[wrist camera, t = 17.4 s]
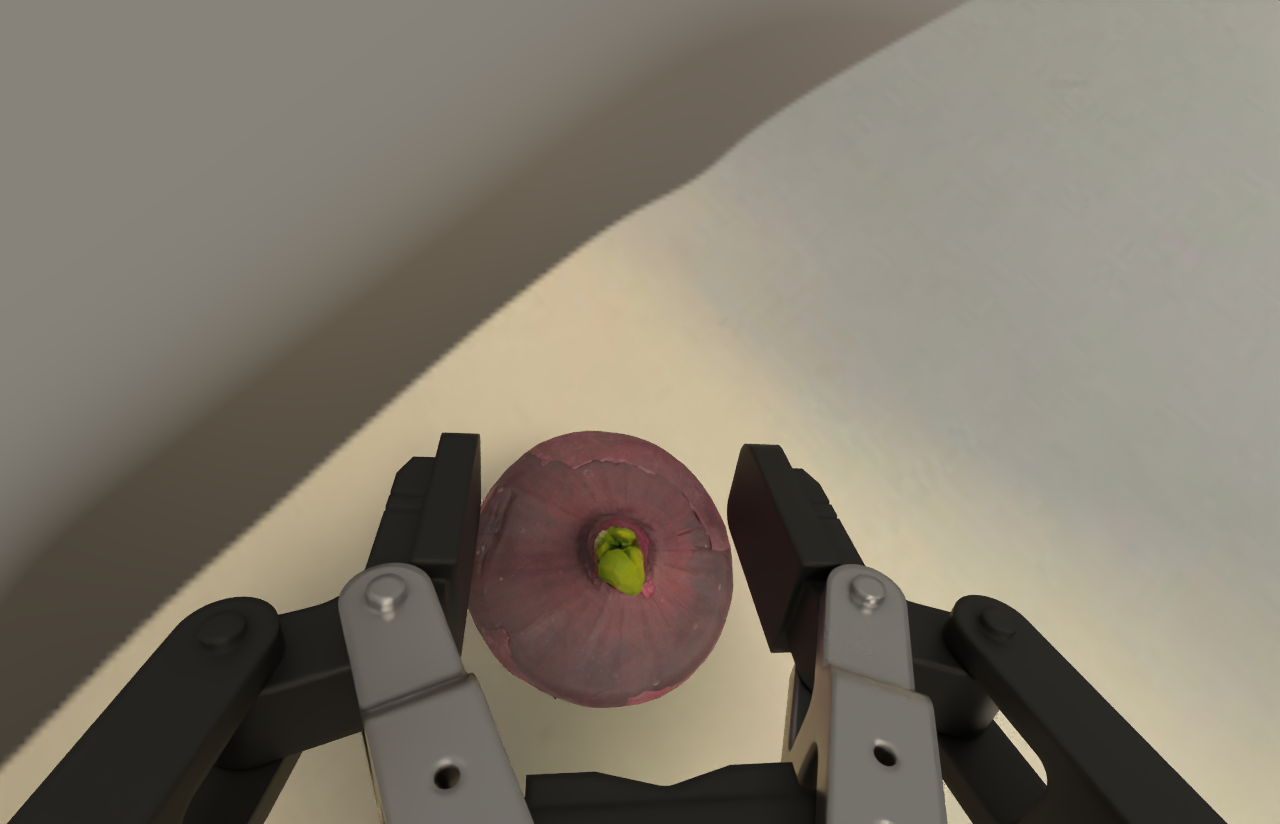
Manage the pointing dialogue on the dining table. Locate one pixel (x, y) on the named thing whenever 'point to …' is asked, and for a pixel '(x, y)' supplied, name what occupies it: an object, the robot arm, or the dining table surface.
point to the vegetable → (600, 570)
